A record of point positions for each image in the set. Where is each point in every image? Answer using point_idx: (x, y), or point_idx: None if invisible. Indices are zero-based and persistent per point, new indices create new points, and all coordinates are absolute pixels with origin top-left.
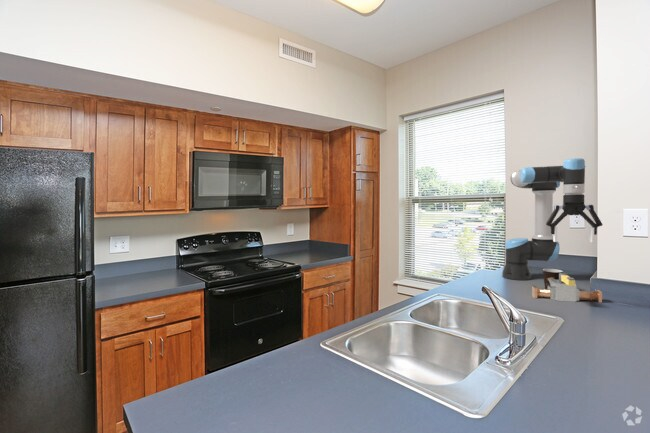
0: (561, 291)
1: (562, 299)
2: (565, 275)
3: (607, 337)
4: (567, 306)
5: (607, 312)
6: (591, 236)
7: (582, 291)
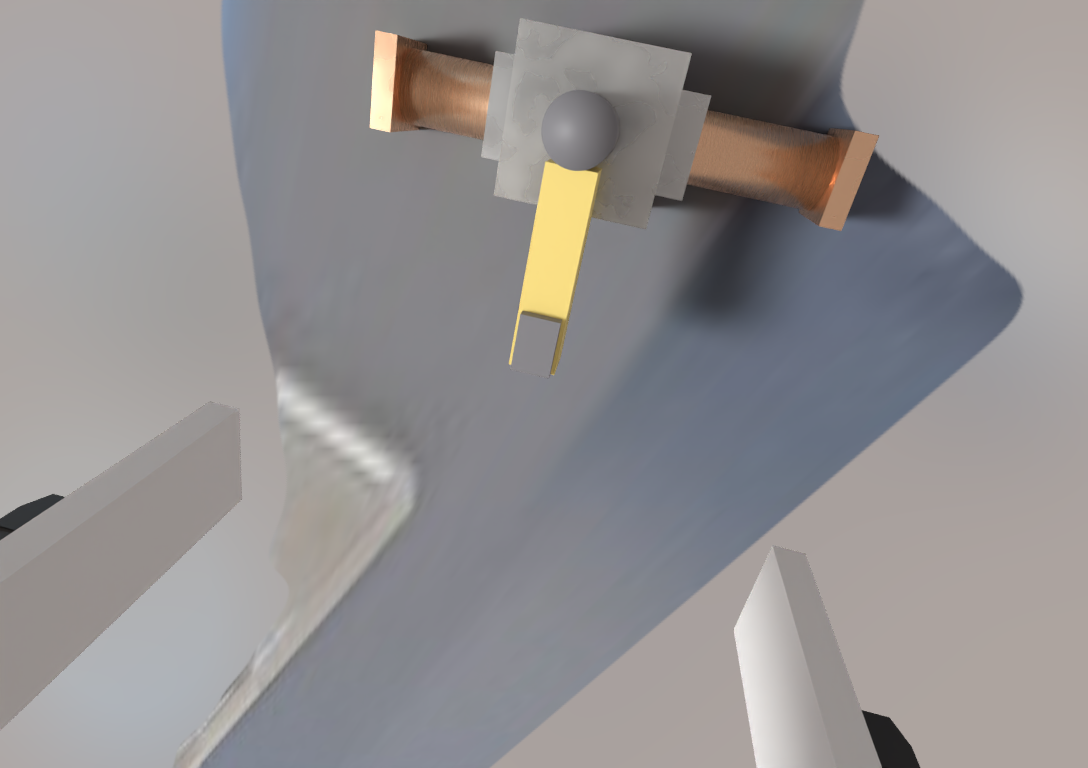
0: None
1: None
2: (577, 179)
3: (485, 653)
4: None
5: (692, 410)
6: (761, 705)
7: (728, 161)
